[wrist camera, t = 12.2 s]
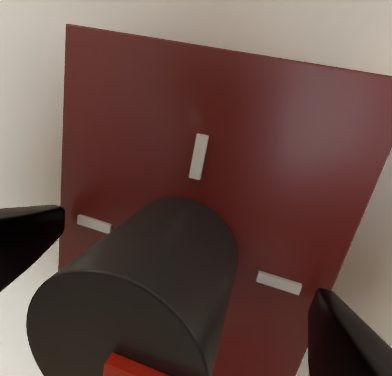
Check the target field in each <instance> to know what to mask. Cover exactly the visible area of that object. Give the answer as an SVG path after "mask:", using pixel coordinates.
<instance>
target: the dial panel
mask: <svg viewBox="0 0 392 376" xmlns="http://www.w3.org/2000/svg"><path fill="white" fill-rule="evenodd" d="M391 147H392V76H388V75H381V74H375V73H369V72H363V71H357V70H350V69H344V68H338V67H332V66H326V65H320V64H313V63H307V62H301V61H295V60H289V59H282V58H276V57H270V56H264V55H258V54H251V53H245V52H239V51H233V50H227V49H220V48H214V47H208V46H202V45H196V44H190V43H183V42H177V41H171V40H165V39H159V38H152V37H146V36H140V35H134V34H128V33H121V32H115V31H109V30H103V29H97V28H91V27H84V26H78V25H72V24H66V43H65V76H64V108H63V140H62V173H61V205H60V207H62V208H64V209H65V229H64V232H63V234H62V235H61V236H60V237H59V270H58V271H60V270H61V269H62V268H64V267H65V266H66V265H68V264H69V263H70V262H72V261H73V260H74V259H76V258H77V257H78V256H80V255H81V254H82V253H84V252H85V251H86V250H87V249H89V248H90V247H91V246H93V245H94V244H95V243H97V242H98V241H99V240H101V239H102V238H103V237H105V236H106V235H107V234H109V233H110V232H111V231H113V230H114V229H115V228H117V227H118V226H119V225H121V224H122V223H123V222H125V221H126V220H127V219H129V218H130V217H131V216H133V215H134V214H135V213H136V212H138V211H139V210H140V209H142V208H143V207H144V206H146V205H147V204H149V203H151V202H153V201H155V200H158V199H161V198H166V197H183V198H188V199H192V200H195V201H198V202H200V203H202V204H204V205H206V206H207V207H209V208H210V209H212V210H213V211H214V212H216V213H217V214H218V215H219V216H220V217H221V218H222V219H223V220H224V222H225V223H226V224H227V226H228V227H229V229H230V231H231V232H232V234H233V237H234V239H235V242H236V246H237V253H238V263H237V268H236V273H235V277H234V282H233V286H232V291H231V295H230V300H229V304H228V309H227V313H226V318H225V322H224V326H223V331H222V335H221V340H220V344H219V349H218V353H217V358H216V362H215V367H214V371H213V376H295V375H296V373H297V371H298V368H299V366H300V363H301V361H302V359H303V356H304V354H305V352H306V349H307V347H308V311H309V308H310V305H311V303H312V300H313V298H314V295H315V293H316V291H317V289H318V288H323V289H327V290H330V291H331V290H332V288H333V285H334V283H335V280H336V278H337V276H338V273H339V271H340V269H341V266H342V264H343V261H344V259H345V257H346V254H347V252H348V250H349V247H350V245H351V242H352V240H353V238H354V235H355V233H356V231H357V228H358V226H359V223H360V221H361V219H362V216H363V214H364V212H365V209H366V207H367V204H368V202H369V200H370V197H371V195H372V193H373V190H374V188H375V185H376V183H377V181H378V178H379V176H380V174H381V171H382V169H383V166H384V164H385V162H386V159H387V157H388V155H389V152H390V150H391Z"/></svg>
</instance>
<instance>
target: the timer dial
mask: <svg viewBox="0 0 392 376" xmlns="http://www.w3.org/2000/svg"><path fill="white" fill-rule="evenodd" d="M237 263H238V253H237V246H236V242H235V239H234V237H233V234H232V232H231V231H230V229H229V227H228V226H227V224H226V223H225V222H224V220H223V219H222V218H221V217H220V216H219V215H218V214H217V213H216V212H214V211H213V210H212V209H210V208H209V207H207V206H206V205H204V204H202V203H200V202H198V201H195V200H192V199H188V198H183V197H166V198H161V199H158V200H155V201H153V202H151V203H149V204H147V205H146V206H144V207H143V208H142V209H140V210H139V211H138V212H136V213H135V214H134V215H133V216H131V217H130V218H129V219H127V220H126V221H125V222H123V223H122V224H121V225H119V226H118V227H117V228H115V229H114V230H113V231H111V232H110V233H109V234H107V235H106V236H105V237H103V238H102V239H101V240H99V241H98V242H97V243H95V244H94V245H93V246H91V247H90V248H89V249H87V250H86V251H85V252H84V253H82V254H81V255H80V256H78V257H77V258H76V259H74V260H73V261H72V262H70V263H69V264H68V265H66V266H65V267H64V268H62V269H61V270H60V271H58V272H57V273H56V274H54V275H53V276H52V277H50V278H49V279H48V280H46V281H45V282H44V283H43V284H42V285H41V286H40V287H39V288H38V289H37V291H36V293H35V294H34V296H33V297H32V300H31V302H30V305H29V308H28V312H27V321H26V328H27V336H28V341H29V345H30V348H31V351H32V354H33V356H34V359H35V361H36V363H37V365H38V367H39V368H40V370H41V372H42V374H43V375H44V376H213V371H214V367H215V362H216V358H217V353H218V349H219V344H220V340H221V335H222V331H223V326H224V322H225V318H226V313H227V309H228V304H229V300H230V295H231V291H232V286H233V282H234V277H235V273H236V268H237Z"/></svg>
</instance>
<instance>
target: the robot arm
mask: <svg viewBox="0 0 392 376" xmlns="http://www.w3.org/2000/svg"><path fill="white" fill-rule="evenodd" d="M64 229H65V209H64V208H62V207H60V206H56V205H44V206H30V207H17V208H4V209H0V292H1V291H2V290H3V289H4V288H6V287H7V286H8V285H9V284H10V283H12V282H13V281H14V280H15V279H16V278H17V277H19V276H20V275H21V274H22V273H23V272H24V271H26V270H27V269H28V268H29V267H30V266H31V265H32V264H34V263H35V262H36V261H37V260H38V259H39V258H40V257H41V256H42V255H43V253H44V252H45V251H46V250H47V249H48V248H49V247H50V246H51V245H52V244H53V243H54V242H55V241H56V240H57V239H58V238H59V237H60V236H61V235H62V234H63V232H64ZM308 364H309V374H310V376H392V348H391V347H390V346H389V345H388V344H387V343H386V342H385V341H383V340H382V339H381V338H380V337H379V336H378V335H377V334H376V333H375V332H374V331H373V330H372V329H371V328H370V327H369V326H368V325H367V324H366V323H365V322H364V321H363V320H362V319H361V318H360V317H359V316H358V315H357V314H356V313H355V312H354V311H353V310H352V309H350V308H349V307H348V306H347V305H346V304H345V303H344V302H343V301H342V300H341V299H340V298H339V297H338V296H337V295H336V294H335V293H334V292H332V291H330V290H327V289H323V288H318V289H317V291H316V293H315V295H314V298H313V300H312V303H311V305H310V308H309V311H308Z"/></svg>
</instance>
